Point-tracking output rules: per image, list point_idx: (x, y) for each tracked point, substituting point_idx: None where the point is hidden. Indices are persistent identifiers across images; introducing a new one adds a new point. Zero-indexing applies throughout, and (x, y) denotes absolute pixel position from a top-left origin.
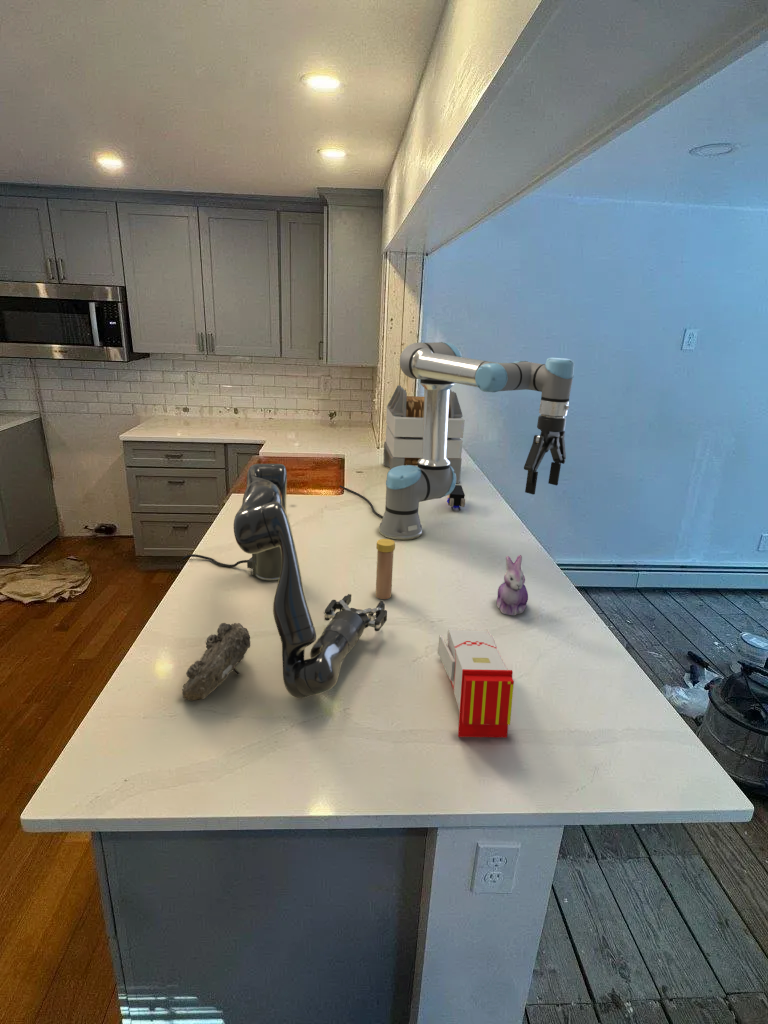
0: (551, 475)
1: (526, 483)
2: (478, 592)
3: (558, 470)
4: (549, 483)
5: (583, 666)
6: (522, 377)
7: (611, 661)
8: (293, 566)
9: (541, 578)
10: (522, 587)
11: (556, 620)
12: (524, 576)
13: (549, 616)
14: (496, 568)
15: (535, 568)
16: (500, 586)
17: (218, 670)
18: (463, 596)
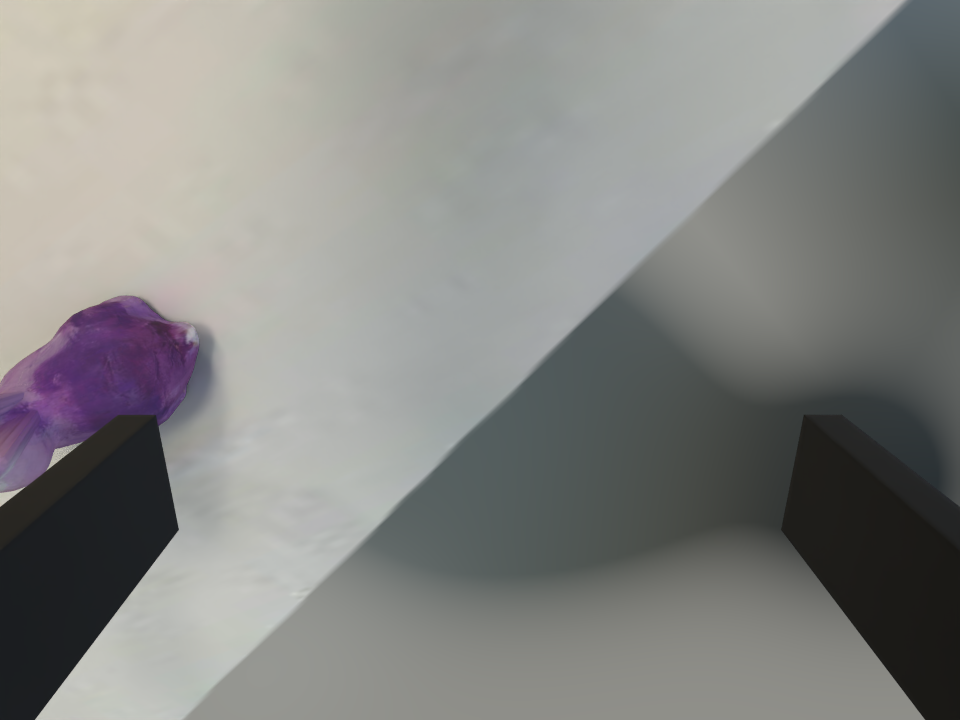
0: (877, 518)
1: (30, 488)
2: (110, 187)
3: (932, 714)
4: (802, 434)
5: None
6: None
7: (145, 698)
8: None
9: (476, 313)
10: (86, 438)
11: (206, 513)
12: (19, 487)
13: (208, 485)
14: (400, 91)
15: (558, 237)
16: (60, 331)
17: None
18: (18, 161)
